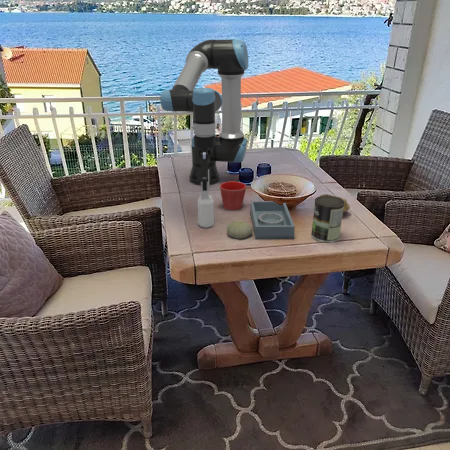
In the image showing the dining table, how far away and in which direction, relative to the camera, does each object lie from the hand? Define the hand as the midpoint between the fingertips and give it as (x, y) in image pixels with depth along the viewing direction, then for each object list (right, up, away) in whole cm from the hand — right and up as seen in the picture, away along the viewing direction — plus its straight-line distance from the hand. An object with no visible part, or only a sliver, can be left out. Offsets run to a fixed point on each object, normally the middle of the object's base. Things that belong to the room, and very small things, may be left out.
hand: (205, 191), depth 151 cm
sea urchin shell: (+13, -16, 0) cm, 21 cm away
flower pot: (+11, -5, +23) cm, 26 cm away
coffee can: (+44, -17, -2) cm, 47 cm away
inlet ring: (+25, -12, +7) cm, 29 cm away
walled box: (+25, -12, +7) cm, 29 cm away
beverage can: (0, -13, +6) cm, 14 cm away
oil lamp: (+52, -7, +18) cm, 55 cm away
